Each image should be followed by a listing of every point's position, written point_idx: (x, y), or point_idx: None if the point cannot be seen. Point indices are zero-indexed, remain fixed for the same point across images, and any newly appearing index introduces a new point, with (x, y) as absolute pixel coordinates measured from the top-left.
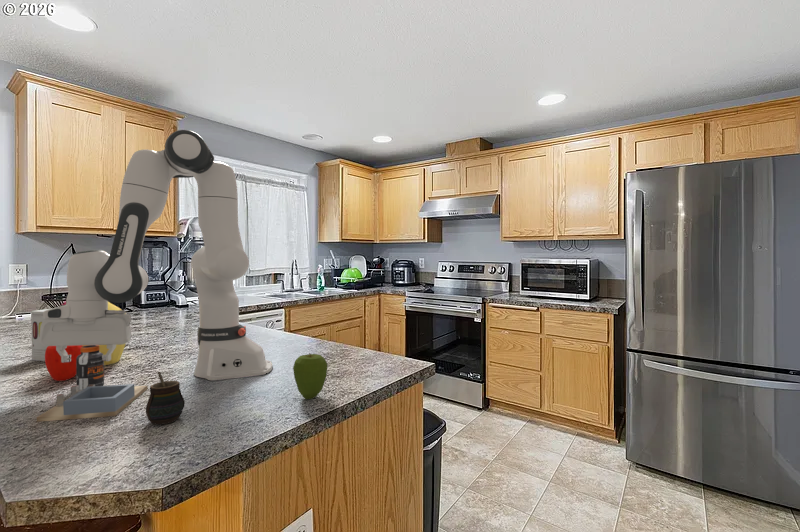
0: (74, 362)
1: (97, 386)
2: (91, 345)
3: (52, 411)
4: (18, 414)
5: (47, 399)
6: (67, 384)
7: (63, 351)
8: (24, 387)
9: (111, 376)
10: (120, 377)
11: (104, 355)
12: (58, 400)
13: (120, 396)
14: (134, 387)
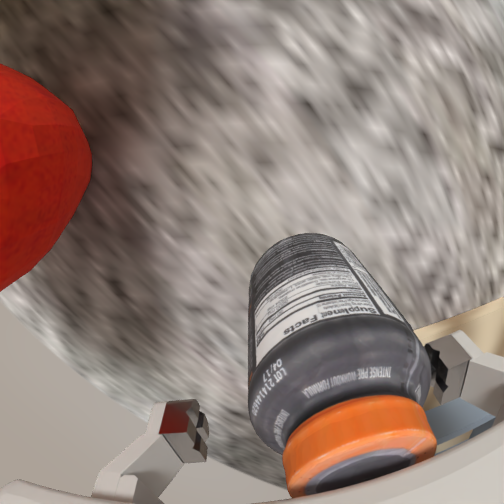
0: (69, 197)
1: (437, 441)
2: (367, 470)
3: None
4: (261, 467)
5: (238, 402)
6: (143, 241)
7: (153, 476)
8: (22, 281)
9: (281, 87)
10: (351, 110)
11: (453, 396)
12: None
13: None
14: (495, 320)
